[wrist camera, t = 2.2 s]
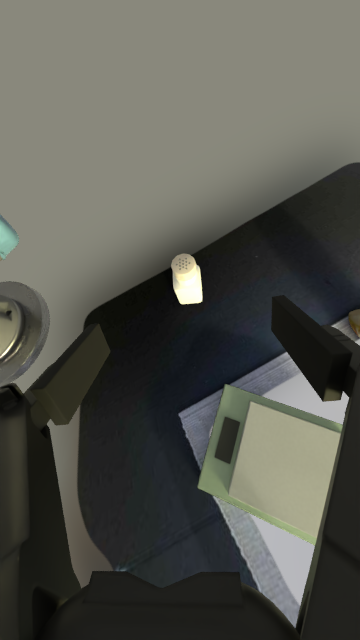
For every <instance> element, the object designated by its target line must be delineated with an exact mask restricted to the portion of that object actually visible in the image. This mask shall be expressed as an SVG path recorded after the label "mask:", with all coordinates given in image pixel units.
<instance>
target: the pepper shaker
mask: <svg viewBox="0 0 360 640" xmlns="http://www.w3.org/2000/svg"><path fill="white" fill-rule="evenodd" d="M171 267H172V270H173V288H174V290H175V293H176V295H177V298H178V300H179V302H180V304H191V303H200V302H202V285H201V276H200V268H199V266H198V265H196V263H195V260H194V258H193V257H192V256H190V255H189V254H180V255H178V256H176V257H175V258H174V259H173V260H172V264H171Z"/></svg>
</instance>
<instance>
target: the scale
mask: <svg viewBox="0 0 360 640" xmlns="http://www.w3.org/2000/svg"><path fill="white" fill-rule="evenodd" d="M342 427H343V425H342V424H339V423H336V422H333V421H330V420H327V419H324V418H322V417H319V416H316V415H313V414H310V413H307V412H305V411H302V410H299V409H296V408H293V407H290V406H287V405H285V404H282V403H279V402H276V401H273V400H270V399H267V398H265V397H262V396H259V395H256V394H253V393H250V392H247V391H245V390H242V389H239V388H236V387H233V386H230V385H227V384H225V385H224V389H223V392H222V396H221V400H220V403H219V407H218V411H217V414H216V418H215V421H214V425H213V429H212V433H211V436H210V440H209V443H208V447H207V451H206V454H205V458H204V462H203V465H202V469H201V473H200V476H199V481H198V488H199V489H201V490H203V491H205V492H207V493H209V494H211V495H213V496H215V497H217V498H220V499H222V500H224V501H226V502H228V503H230V504H232V505H234V506H236V507H238V508H240V509H242V510H244V511H246V512H248V513H250V514H252V515H254V516H256V517H259V518H260V519H262V520H264V521H266V522H269V523H270V524H272V525H275V526H277V527H279V528H281V529H283V530H285V531H287V532H289V533H291V534H293V535H295V536H297V537H299V538H301V539H303V540H305V541H307V542H309V543H311V544H313V545H315V544H316V540H317V535H318V531H319V527H320V522H321V518H322V514H323V509H324V505H325V501H326V496H327V492H328V488H329V483H330V479H331V474H332V470H333V466H334V461H335V457H336V453H337V448H338V444H339V440H340V435H341V431H342Z"/></svg>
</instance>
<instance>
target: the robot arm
mask: <svg viewBox="0 0 360 640" xmlns="http://www.w3.org/2000/svg"><path fill="white" fill-rule="evenodd" d="M18 242H19V238H18V235H17V233H16V231H15V230H14V229H13V228H12V226H11V225H10V224H9V223H8V222H7V221H6V220H5V219H4V218H3V217H2V216H1V215H0V261H1V260H2V259H3V260H4V259H5V258H6V255H7V254H8V253H9V252H11V251H12V250H13V249H14V248H15V247H16V246H17V244H18ZM24 325H25V317H24V312H23V309H22V307H21V306H20V304H19V303H18V302H17V301H15V300H14V299H11V298H9V297H6V296H4V295H0V362H1V361H3V360H4V359H5V358H6V357H8V356H9V355H10V354H11V352H12V351H13V350H14V349H15V347H16V346H17V344H18V343H19V341H20V339H21V336H22V333H23V330H24ZM271 330H272V332H273V333H274V335H275V336H276V337H277V339H278V340H279V341H280V343H281V344H282V346H283V347H284V348H285V350H286V351H287V352H288V354H289V355H290V357H291V358H292V359H293V361H294V362H295V364H296V365H297V366H298V368H299V369H300V370H301V372H302V373H303V375H304V376H305V377H306V379H307V380H308V382H309V383H310V384H311V386H312V387H313V388H314V390H315V391H316V393H317V394H318V395H319V397H320V398H321V400H322V401H323V402H324V401H336V400H341V396H342V393H343V391H344V392H345V393H346V394H347V396H348V397H349V401H348V404H347V408H346V412H345V418H344V422H343V427H342V431H341V435H340V440H339V444H338V448H337V453H336V457H335V461H334V466H333V470H332V474H331V479H330V483H329V488H328V492H327V496H326V501H325V505H324V509H323V514H322V518H321V522H320V527H319V531H318V535H317V540H316V544H315V549H314V553H313V557H312V562H311V566H310V570H309V574H308V578H307V582H306V585H305V589H304V594H303V598H302V602H301V606H300V610H299V615H298V619H297V623H296V628H294V626H293V625H292V624H291V623H290V621H289V620H288V619H287V618H286V616H285V615H284V614H283V613H282V612H281V611H280V610H279V609H278V608H277V607H276V606H275V605H274V603H273V602H271V601H270V600H269V599H268V598H267V597H265V596H264V595H263V594H262V593H260V592H259V591H257V590H256V589H254V588H252V587H251V586H248V585H246V584H244V583H242V582H241V579H240V573H239V572H200V573H197V574H195V575H193V576H190V577H188V578H186V579H183V580H181V581H179V582H176V583H174V584H172V585H169V586H167V587H164V588H159V587H156V586H154V585H152V584H150V583H148V582H146V581H144V580H142V579H140V578H138V577H136V576H134V575H132V574H130V573H128V572H126V571H93V572H92V575H91V578H90V582H89V584H88V585H87V586H85V587H84V588H82V589H81V587H80V584H79V581H78V579H77V577H76V575H75V573H74V570H73V568H72V564H71V558H70V552H69V545H68V539H67V533H66V527H65V521H64V515H63V510H62V503H61V496H60V491H59V485H58V478H57V472H56V466H55V460H54V455H53V447H52V441H51V435H50V429H49V427H48V426H47V422H48V421H49V420H50V418H51V419H52V421H53V422H54V424H55V425H65V424H69V422H70V420H71V419H72V417H73V415H74V413H75V412H76V410H77V408H78V407H79V405H80V403H81V401H82V400H83V398H84V396H85V395H86V393H87V391H88V389H89V388H90V386H91V384H92V383H93V381H94V379H95V377H96V376H97V374H98V372H99V370H100V369H101V367H102V365H103V364H104V362H105V360H106V358H107V357H108V355H109V353H110V349H109V347H108V345H107V342H106V340H105V337H104V335H103V333H102V330H101V328H100V326H99V323H97V324H91V325H89V326H88V327H87V328H86V329H85V330H84V331H83V332H82V334H81V335H80V336H79V337H78V338H77V339H76V340H75V341H74V342H73V343H72V344H71V345H70V347H69V348H68V349H67V350H66V351H65V352H64V353H63V354H62V355H61V356H60V357H59V358H58V360H57V361H56V362H55V363H53V364H52V365H51V366H49V367H48V368H47V369H46V370H45V371H44V373H43V374H41V376H40V377H39V379H37V380H36V381H35V382H34V383H33V384H32V385H31V386H30V387H29V389H27V391H26V392H25V393H24V394H23V393H22V392H21V390H20V389H19V387H18V386H17V385H16V384H15V383H10V384H6V385H3V386H1V387H0V640H360V346H359V345H358V344H357V343H355V342H354V341H353V340H351V339H350V338H349V337H347V336H345V334H343V333H342V332H341V331H340V330H338V329H336V328H334V327H331V326H329V325H323V326H320V325H319V324H318V323H316V322H315V321H314V320H313V319H312V318H310V317H309V316H308V315H307V314H306V313H304V312H303V311H302V310H301V309H300V308H298V307H297V306H296V305H295V304H294V303H292V302H291V301H290V300H289V299H288V298H286V297H285V296H284V295H281V296H275V297H272V325H271ZM241 585H242V586H241Z"/></svg>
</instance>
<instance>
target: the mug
mask: <svg viewBox="0 0 360 640" xmlns="http://www.w3.org/2000/svg"><path fill="white" fill-rule="evenodd" d="M349 323H350V325H351V327H352V329H353V330H354V332H355V333H356V334H357V335H358V336H359V337H360V309H357V310H354V311H351V312H349Z"/></svg>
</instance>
